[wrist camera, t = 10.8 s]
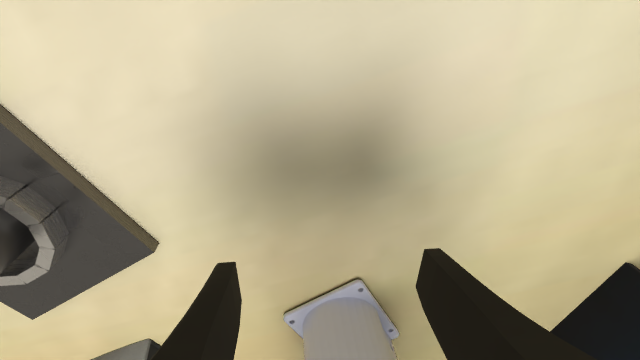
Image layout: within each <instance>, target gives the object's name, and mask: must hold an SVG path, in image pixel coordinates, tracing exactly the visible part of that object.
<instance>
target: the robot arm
mask: <svg viewBox="0 0 640 360" xmlns="http://www.w3.org/2000/svg"><path fill="white" fill-rule="evenodd" d="M359 288H360V289H359ZM416 289H417V292H418V295H419V298H420V301H421V304H422V307H423V310H424V312H425V315H426V317H427V319H428V321H429V323H430V325H431V327H432V329H433V331H434V334H435V336H436V338H437V340H438V342H439V344H440V346H441V348H442V350H443V352H444V354H445V356H446V358H447V360H597V359H595V358H594V357H592V356H590V355H588V354H586V353H585V352H583V351H581V350H579V349H578V348H576V347H574V346H572V345H571V344H569V343H567V342H565V341H564V340H562V339H560V338H559V337H557V336H556V335H554V334H552V333H551V332H549V331H548V330H546V329H544V328H543V327H541V326H540V325H538V324H537V323H535V322H534V321H532V320H531V319H529V318H528V317H526V316H525V315H523V314H522V313H520V312H519V311H518V310H516V309H515V308H513V307H512V306H511V305H509V304H508V303H507V302H505V301H504V300H503V299H501V298H500V297H499V296H497V295H496V294H495V293H493V292H492V291H491V290H489V289H488V288H487V287H486V286H484V285H483V284H482V283H481V282H479V281H478V280H477V279H476V278H475V277H473V276H472V275H471V274H470V273H469V272H467V271H466V270H465V269H464V268H463V267H461V266H460V265H459V264H458V263H457V262H455V261H454V260H453V259H452V258H451V257H449V256H448V255H447V254H446V253H445V252H443V251H442V250H441V249H440V248H437V249H424V253H423V257H422V261H421V266H420V270H419V274H418V278H417V283H416ZM241 302H242V299H241V293H240V287H239V281H238V275H237V268H236V262H226V263H218V264H217V265H216V266H215V268H214V270H213V271H212V273H211V275H210V277H209V278H208V280H207V282H206V283H205V285H204V286H203V288H202V290H201V291H200V293H199V294H198V296H197V297H196V299H195V300H194V302H193V303H192V305H191V306H190V308H189V309H188V311H187V312H186V314H185V315H184V317H183V318H182V319H181V321H180V322H179V323H178V325H177V326H176V327H175V329H174V330H173V331H172V333H171V334H170V336H169V337H168V338H167V339H166V341H165V342H164V343H163V345H162V346H161V347H160V348H159V350H158V351H157V352H156V353H155V354H154V356H153V357H152V358H151V359H150V360H233V359H234V354H235V349H236V344H237V338H238V333H239V327H240V315H241ZM284 321H285V322H286V323H287V324H288V325H289V326H290V327H291V328H292V329H293V330H294V331H295V332H296V333H297V334H298V335H299V336H300V337H302V338H303V342H304V357H305V360H398V359H397V356H396V353H395V350H394V347H393V344H392V341H391V340H392V339H395V338H397V337H398V336H399V332H398V330H397V328H396V327H395V326H394V324H393V323H392V321H391V320H390V319H389V317H388V316H387V315H386V313H385V312H384V310H383V309H382V308H381V306H380V305H379V303H378V302H377V301H376V299H375V298H374V297H373V295H372V294H371V292H370V291H369V290H368V288H367V287H366V285H365V284H364V283H363V281H362V280H354V281H352V282H350V283H348V284H346V285H344V286H342V287H340V288H337V289H335V290H333V291H331V292H329V293H327V294H325V295H323V296H321V297H319V298H316V299H314V300H312V301H310V302H308V303H306V304H304V305H302V306H300V307H297V308H295V309H293V310H291V311H289V312H287V313H285V314H284Z"/></svg>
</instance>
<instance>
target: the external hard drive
mask: <svg viewBox="0 0 640 360" xmlns="http://www.w3.org/2000/svg"><path fill="white" fill-rule="evenodd" d="M160 347H161V346H159V345H158V344H157V343H155V342H154V341H153V340H151V339H146V340H142V341H139V342H136V343H133V344H130V345H128V346H125V347H122V348H119V349H117V350H114V351H112V352H109V353H106V354H104V355H101V356H99V357H96V358H94V359H91V360H150V359H151V358H152V357H153V356H154V354H155V353H156V352H157V351H158V350H159V348H160Z"/></svg>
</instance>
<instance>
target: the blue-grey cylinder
mask: <svg viewBox="0 0 640 360" xmlns="http://www.w3.org/2000/svg"><path fill="white" fill-rule="evenodd" d="M34 241H35V239H34V237H33V235H32V233H31V231H30V230H29V228H28V226H26V225H25V224H23V223H22V222H21V221H19V220H18V219H16V218H15V217H14V216H12V215H11V214H9V213H8V212H7V211H5V210H4V209H2V208H0V273H2V272H3V271H4V270H5V269H6V268H7V267H8V266H9V265H10V264H11V263H12V262H13V261H14V260H15V259H16V258H17V257H18V256H19V255H20V254H22V253H23V252H24V251H25V250H26V249H27V248H28V247H29V246H30V245H31V244H32V243H33V242H34Z"/></svg>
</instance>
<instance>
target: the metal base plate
mask: <svg viewBox="0 0 640 360" xmlns="http://www.w3.org/2000/svg"><path fill="white" fill-rule="evenodd" d="M0 208H2V209H4V210H5V211H7V212H8V213H9V214H11V215H12V216H14V217H15V218H16V219H18V220H19V221H21V222H22V223H23V224H25V225H26V226H28V228H29V230H30V231H31V233H32V235H33V237H34V239H35V241H34V242H33V243H32V244H31V245H30V246H29V247H28V248H27V249H26V250H25V251H24V252H23V253H22V254H20V255H19V256H18V257H17V258H16V259H15V260H14V261H13V262H12V263H11V264H10V265H9V266H8V267H7V268H6V269H5V270H4V271H3V272H2V273H0V302H2V303H4V304H5V305H7V306H9V307H11V308H13V309H14V310H16V311H18V312H20V313H21V314H23V315H25V316H27V317H29V318H30V319H32V320H33V319H35V318H37V317H39V316H40V315H42V314H44V313H46V312H48V311H49V310H51V309H53V308H55V307H57V306H58V305H60V304H62V303H64V302H66V301H67V300H69V299H71V298H73V297H75V296H77V295H78V294H80V293H82V292H84V291H86V290H87V289H89V288H91V287H93V286H95V285H96V284H98V283H100V282H102V281H104V280H105V279H107V278H109V277H111V276H113V275H114V274H116V273H118V272H120V271H122V270H123V269H125V268H127V267H129V266H131V265H132V264H134V263H136V262H138V261H140V260H141V259H143V258H145V257H147V256H149V255H151V254H152V253H154V252H155V250H156V248H157V246H158V244H159V243H158V242H157V241H156V240H155V239H154V238H152V237H151V236H150V235H149V234H148V233H147V232H146V231H144V230H143V229H142V228H141V227H140V226H139V225H138V224H136V223H135V222H134V221H133V220H132V219H131V218H130V217H128V216H127V215H126V214H125V213H124V212H123V211H122V210H120V209H119V208H118V207H117V206H116V205H115V204H113V203H112V202H111V201H110V200H109V199H108V198H107V197H105V196H104V195H103V194H102V193H101V192H100V191H99V190H97V189H96V188H95V187H94V186H93V185H92V184H91V183H89V182H88V181H87V180H86V179H85V178H84V177H83V176H81V175H80V174H79V173H78V172H77V171H76V170H75V169H73V168H72V167H71V166H70V165H69V164H68V163H66V162H65V161H64V160H63V159H62V158H61V157H60V156H58V155H57V154H56V153H55V152H54V151H53V150H52V149H50V148H49V147H48V146H47V145H46V144H45V143H44V142H42V141H41V140H40V139H39V138H38V137H37V136H36V135H34V134H33V133H32V132H31V131H30V130H29V129H27V128H26V127H25V126H24V125H23V124H22V123H21V122H19V121H18V120H17V119H16V118H15V117H14V116H13V115H11V114H10V113H9V112H8V111H7V110H6V109H5V108H3V107H2V106H1V105H0Z"/></svg>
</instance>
